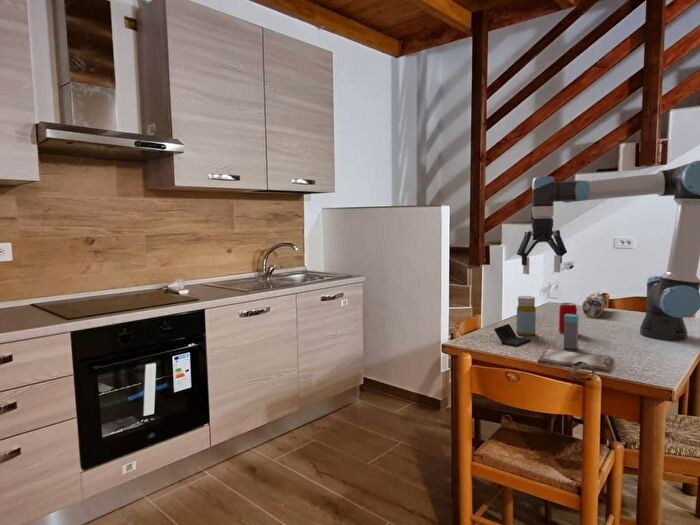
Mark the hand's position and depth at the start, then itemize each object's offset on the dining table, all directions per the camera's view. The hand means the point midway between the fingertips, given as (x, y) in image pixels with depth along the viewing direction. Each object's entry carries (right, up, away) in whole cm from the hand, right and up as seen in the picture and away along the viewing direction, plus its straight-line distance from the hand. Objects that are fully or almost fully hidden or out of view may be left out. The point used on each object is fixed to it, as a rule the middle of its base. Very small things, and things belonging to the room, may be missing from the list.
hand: (541, 273), depth 178 cm
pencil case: (+42, -21, +41) cm, 63 cm away
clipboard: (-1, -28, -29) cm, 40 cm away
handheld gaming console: (-13, -26, -5) cm, 30 cm away
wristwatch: (-7, -30, -45) cm, 54 cm away
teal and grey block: (+4, -26, -15) cm, 31 cm away
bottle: (-4, -25, +6) cm, 26 cm away
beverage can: (+13, -24, +6) cm, 28 cm away
